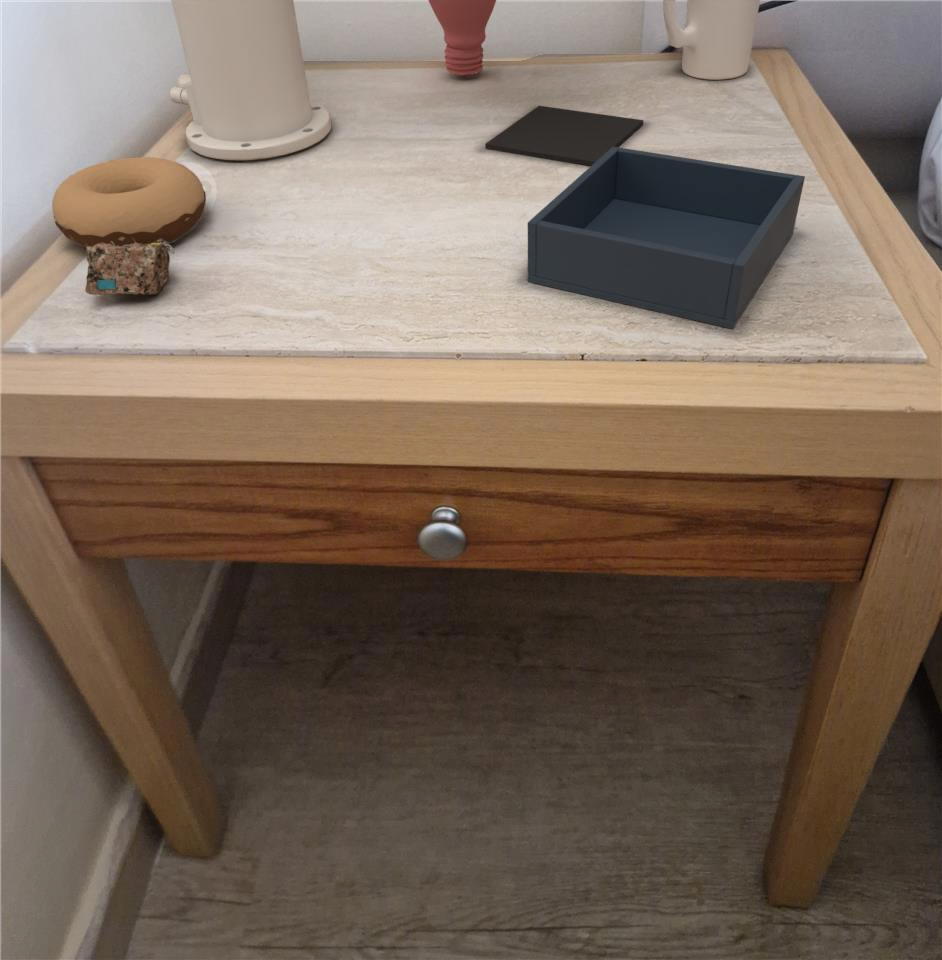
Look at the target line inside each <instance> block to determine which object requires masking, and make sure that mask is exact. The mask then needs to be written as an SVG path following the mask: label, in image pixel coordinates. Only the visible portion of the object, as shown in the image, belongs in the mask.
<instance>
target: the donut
mask: <svg viewBox="0 0 942 960" xmlns="http://www.w3.org/2000/svg"><path fill="white" fill-rule="evenodd" d="M206 198H207V196H206V191H205V189H204V186H203V183H202V182H201V180H200V178H199V177H198V176H197V175H196V173H195V172H194V171H192V170H191V169H190V168H188V167H187V166H185V165H184V164H183V163H179V162H178V161H173V160H169V159H167V158H160V157H151V156H150V157H146V156H137V157H126V158H118V159H111V160H108V161H104V162H100V163H96V164H93V165H90V166H88V167H87V166H86V167H85V168H83V169H80V170H78V171H76V172H75V173H72V174H71V175H69V176H68V177H67V178H65V179H64V180H63V181H62V182H61V183H60V184H59V186H58V187H57V188H56V190H55V192H54V194H53V197H52V204H51V207H52V214H53V218H54V223H55V226H56V227H57V228H58V229H59V231H60V232H61V233H62V234H63V235H64V236H65V238H67V239H68V240H71V241H72V243H74V244H76V245H78V246H80V247H83V248H85V249H86V246H94V245H96V244H98V243H101V244H112V245H116V246H121V247H122V246H124V245H126V246H127V245H129V244H133V243H138V244H141V243H142V244H141V245H144V244H149V243H154V242H156V241H158V240H160V239H161V240H162V241H161V243H163V242H164V241H165V243H166V244H169V245H170V244H172V243H174V242H177V241H178V240H179V239H181V238H183V237H184V236H186V235H187V234H188V233H189V232H191V231H192V230H193V229H194V228H195V227H196V226H197V225H198V224H199V222H200V220H201V219H202V217H203V213H204V211H205V208H206V201H207V199H206ZM111 241H112V242H113V243H112V242H111ZM114 243H115V244H114ZM158 243H160V241H159V242H158ZM85 244H86V245H85Z"/></svg>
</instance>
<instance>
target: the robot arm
mask: <svg viewBox="0 0 942 960" xmlns="http://www.w3.org/2000/svg"><path fill="white" fill-rule="evenodd" d="M171 5H172V8H173V13H174V16H175V20H176V25H177V30H178V32H179V37H180V41H181V44H182V50H183V53H184V57H185V61H186V65H187V69H188V73H187V72H184V73H182V74H180V76H178V80H177V86H172V87H171V89H170V92H169V97H170V99H171V101H172V103H174V104H179V105H185V106H186V105H188V106H189V108H190V111H191V116H192V121H190V122H189V124H188V125H187V127H186V128H185V137H186V141H187V145H188V146H189V148H190V149H191V151H193V152H195V153H197V154H198V155H200V156H204V157H207V158H211V159H216V160H224V161H254V160H256V161H257V160H264V159H271V158H276V157H282V156H285V155H289V154H293V153H296V152H300V151H301V150H305V149H307V148H310V147H311V146H314V145H316V144H318V143H319V142H320V141H322V140H323V139H325V138H326V137H327V135H329V133H330V132H331V129H332V120H331V114H330V112H329V110H328V109H327V108H326V107H325V106H323V105H321V104H320V103H317V102H314V101H311V100H310V93H309V88H308V81H307V75H306V69H305V63H304V62H305V61H304V57H303V51H302V50H303V49H302V45H301V39H300V38H301V37H300V34H299V33H300V31H299V26H298V20H297V15H296V9H295V8H296V7H295V3H294V0H171Z"/></svg>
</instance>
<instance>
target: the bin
mask: <svg viewBox="0 0 942 960" xmlns="http://www.w3.org/2000/svg"><path fill="white" fill-rule="evenodd" d="M805 178H806V176H805V175H799V174H793V173H786V172H779V171H772V170H765V169H762V168H761V169H760V168H753V167H748V166H747V167H746V166H740V165H735V164H734V165H733V164H729V163H728V164H727V163H722V162H716V161H715V162H714V161H708V160H701V159H696V158H689V157H683V156H676V155H669V154H664V153H656V152H650V151H649V152H648V151H645V150H637V149H631V148H624V147H620V146H619V147H612V148H611V149H610V150H609V151H608V152H606V153H605V154H604V155H603V156H602V157H601V158H600V159H599V160H597V161H596V162H595V163H594V164H593V165H592V166H589V167H588V168H587V169H586V170H585V171H584V172H583V173H582V174H580V175H579V176H577V178H575V180H574V181H572V182H571V183H570V184H569V185H568V186H567V187H566V188H565V189H563V190H562V191H561V192H560V193H559V194H558V195H557V196H556V197H554V198H553V199H552V200H551V201H550V202H549V203H548V204H547V205H545V206H544V207H543V208H542V209H541V210H540V211H539V212H537V213H536V214H535V215H534V216H533V217H532V218H531V219H530V220H529V221H528V222H527V283H532V284H536V285H541V286H545V287H549V288H553V289H558V290H562V291H566V292H570V293H571V292H572V293H574V294H575V293H576V294H580V295H585V296H587V297H588V296H589V297H592V298H597V299H601V300H606V301H610V302H614V303H619V304H623V305H628V306H632V307H636V308H640V309H645V310H648V311H653V312H657V313H663V314H667V315H670V316H674V317H679V318H684V319H688V320H693V321H697V322H700V323H705V324H709V325H714V326H718V327H723V328H727V329H731V330H733V329H734V328H735V326H736V325H737V323H738V322H739V320H740V319H741V317H742V315H743V314H744V312H745V311H746V309H747V308H748V306H749V304H750V303H751V301H752V299H753V298H754V297H755V295H756V293H757V292H758V290H759V288H760V287H761V285H762V284H763V282H764V281H765V279H766V277H767V276H768V274H769V273H770V271H771V270H772V268H773V266H774V264H775V263H776V261H777V260H778V258H779V257H780V255H781V254H782V252H783V250H784V249H785V248H786V246H787V244H788V242H789V240H790V239H791V238H792V236H793V234H794V231H795V225H796V221H797V215H798V211H799V207H800V202H801V197H802V193H803V188H804V184H805Z"/></svg>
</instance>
